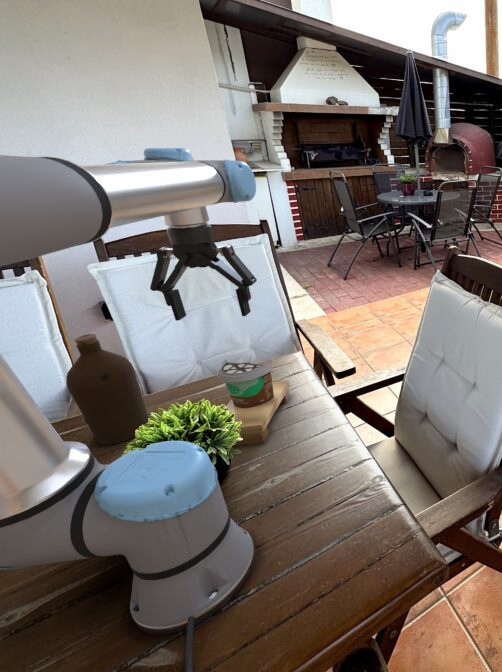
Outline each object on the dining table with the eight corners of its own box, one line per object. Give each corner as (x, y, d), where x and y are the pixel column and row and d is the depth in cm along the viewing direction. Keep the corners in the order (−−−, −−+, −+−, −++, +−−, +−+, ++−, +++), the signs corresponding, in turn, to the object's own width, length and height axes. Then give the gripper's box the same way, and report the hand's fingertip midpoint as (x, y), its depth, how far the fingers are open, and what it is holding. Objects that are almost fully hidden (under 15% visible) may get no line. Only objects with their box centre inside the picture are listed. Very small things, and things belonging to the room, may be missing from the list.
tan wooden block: (266, 442, 91) (261, 424, 89) (212, 448, 89) (206, 430, 87) (292, 395, 107) (288, 380, 106) (247, 400, 106) (243, 384, 104)
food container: (214, 409, 94) (202, 372, 91) (234, 393, 100) (224, 358, 96) (262, 413, 93) (252, 376, 89) (279, 397, 98) (271, 362, 95)
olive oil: (165, 417, 99) (131, 327, 90) (122, 448, 89) (80, 350, 80) (126, 415, 100) (89, 325, 91) (79, 446, 90) (33, 348, 81)
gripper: (259, 219, 90) (278, 306, 97) (133, 223, 86) (163, 313, 93) (245, 226, 83) (266, 318, 90) (107, 230, 79) (141, 327, 86)
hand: (214, 316), depth 92 cm, fingers open, 13 cm apart
